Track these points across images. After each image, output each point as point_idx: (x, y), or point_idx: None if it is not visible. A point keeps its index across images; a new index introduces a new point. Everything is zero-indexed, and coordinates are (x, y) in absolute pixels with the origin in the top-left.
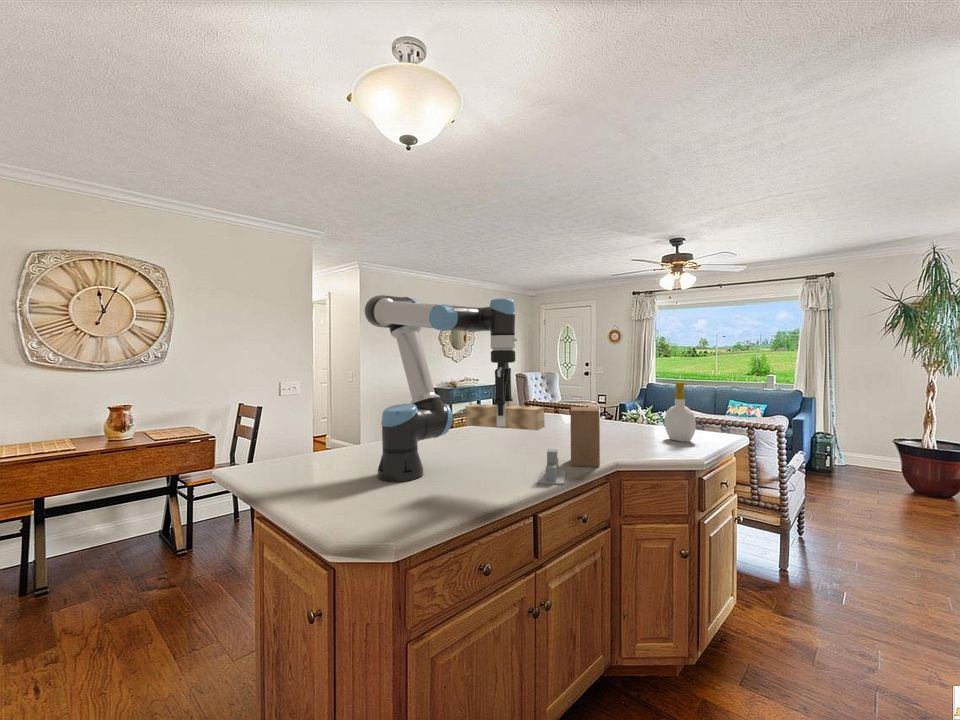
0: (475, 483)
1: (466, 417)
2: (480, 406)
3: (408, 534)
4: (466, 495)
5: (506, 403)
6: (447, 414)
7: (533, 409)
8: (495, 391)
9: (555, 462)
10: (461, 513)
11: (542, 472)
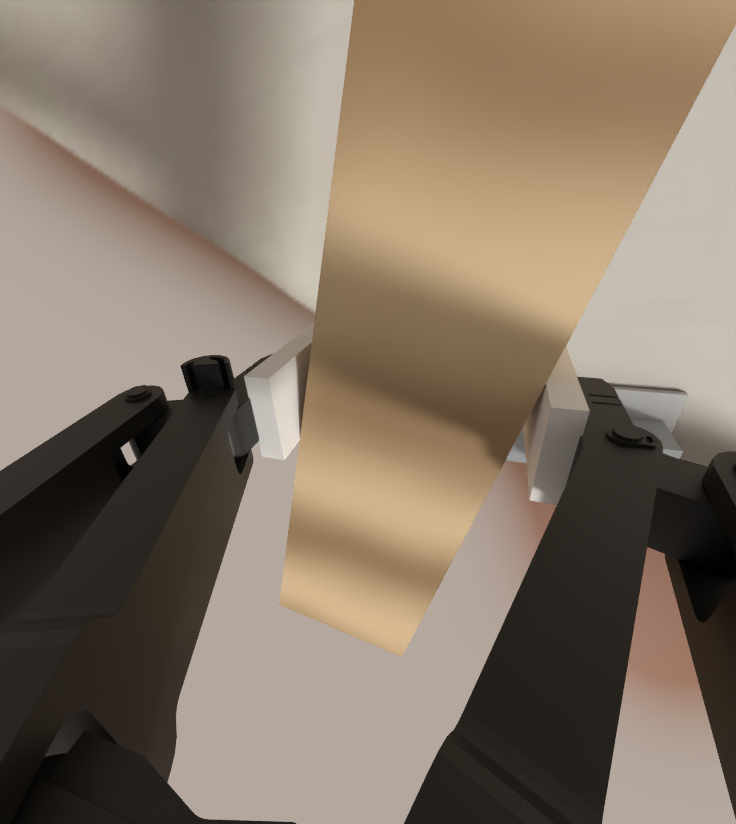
0: None
1: None
2: (411, 74)
3: (12, 87)
4: (322, 137)
5: (535, 453)
6: None
7: (283, 592)
8: (16, 468)
9: None
10: (180, 185)
11: (636, 395)
